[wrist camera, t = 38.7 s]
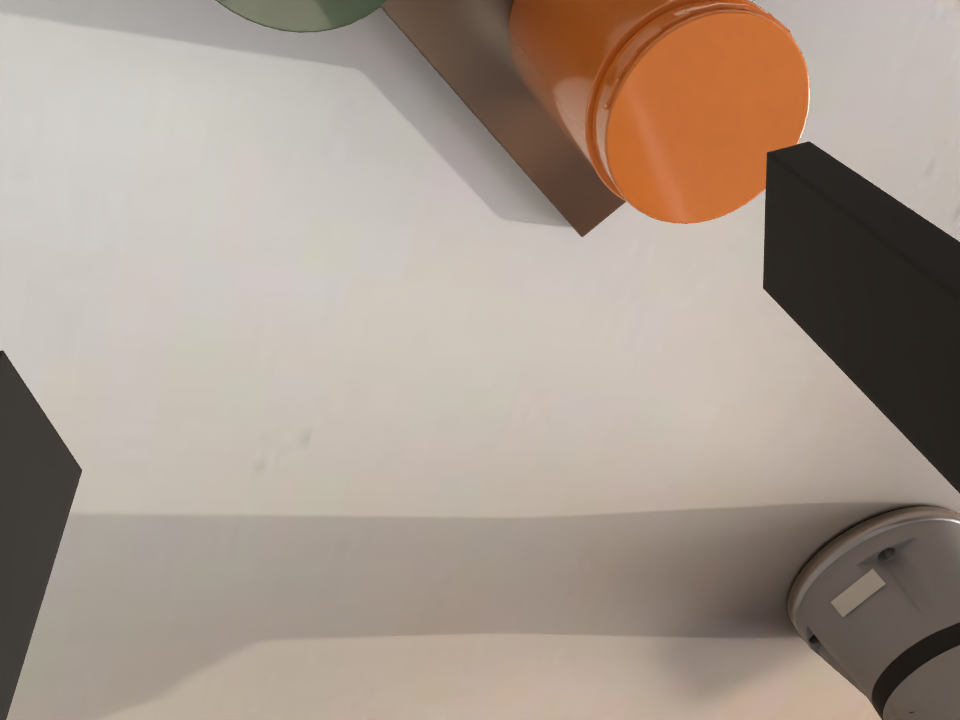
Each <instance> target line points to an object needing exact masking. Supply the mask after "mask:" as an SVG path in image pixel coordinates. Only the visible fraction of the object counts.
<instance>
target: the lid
mask: <svg viewBox="0 0 960 720" xmlns="http://www.w3.org/2000/svg"><path fill="white" fill-rule="evenodd" d="M216 1H217V2H219V3H220V4H221V5H223V6H224V7H226V8H227V9H229V10H230V11H232V12H234V13H236V14H238V15H239V16H241V17H243V18H245V19H247V20H249V21H252V22H255V23H257V24H260V25H263V26H265V27H270V28H274V29H278V30H282V31H291V32H320V31H326V30H332V29H336V28H339V27H343V26H346V25H349V24H351V23H354V22H356V21H358V20H360V19H362V18H364V17H366V16H367V15H369V14H370V13H372V12H374V11H375V10H377V9H378V8H380V7H381V6H382V5H383V4H384V3H385V2H386V1H388V0H216Z"/></svg>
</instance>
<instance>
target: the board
mask: <svg viewBox="0 0 960 720" xmlns="http://www.w3.org/2000/svg"><path fill="white" fill-rule="evenodd" d="M513 2H514V0H388V1H386V2H385V3H384V4H383V5H382V6H381V8H382V9H383V10H384V11H385V12H386V14H387V15H388V16H389V17H390V18H391V19H392V21H393V22H394V23H395V24H396V25H397V26H398V27H399V29H400V30H401V31H402V32H403V33H404V34H405V35H406V37H407V38H408V39H409V40H410V41H411V42H412V43H413V45H414V46H415V47H416V48H417V49H418V50H419V51H420V53H421V54H422V55H423V56H424V57H425V58H426V59H427V61H428V62H429V63H430V64H431V65H432V66H433V67H434V69H435V70H436V71H437V72H438V73H439V74H440V76H441V77H442V78H443V79H444V80H445V81H446V82H447V84H448V85H449V86H450V87H451V88H452V89H453V90H454V92H455V93H456V94H457V95H458V96H459V97H460V98H461V100H462V101H463V102H464V103H465V104H466V105H467V106H468V108H469V109H470V110H471V111H472V112H473V113H474V114H475V116H476V117H477V118H478V119H479V120H480V121H481V122H482V124H483V125H484V126H485V127H486V128H487V129H488V131H489V132H490V133H491V134H492V135H493V136H494V137H495V139H496V140H497V141H498V142H499V143H500V144H501V145H502V147H503V148H504V149H505V150H506V151H507V152H508V153H509V155H510V156H511V157H512V158H513V159H514V160H515V161H516V163H517V164H518V165H519V166H520V167H521V168H522V169H523V171H524V172H525V173H526V174H527V175H528V176H529V177H530V179H531V180H532V181H533V182H534V183H535V184H536V186H537V187H538V188H539V189H540V190H541V191H542V192H543V194H544V195H545V196H546V197H547V198H548V199H549V200H550V202H551V203H552V204H553V205H554V206H555V207H556V208H557V210H558V211H559V212H560V213H561V214H562V215H563V216H564V218H565V219H566V220H567V221H568V222H569V223H570V224H571V226H572V227H573V228H574V229H575V230H576V231H577V232H578V234H579V235H580V236H581V237H583V236H585V235H586V234H587V233H588V232H589V231H591V230H592V229H593V228H594V227H595V226H597V225H598V224H599V223H600V222H602V221H603V220H604V219H605V218H606V217H608V216H609V215H610V214H611V213H613V212H614V211H615V210H616V209H617V208H619V207H620V206H621V205H622V204H624V203H625V202H626V201H624V200H622V199H621V198H620V197H618V196H617V195H616V194H614V193H613V192H612V191H611V190H610V189H609V188H608V187H607V186H606V185H605V184H604V183H603V182H602V180H601V179H600V178H599V177H598V175H597V174H596V173H595V172H594V170H593V169H592V168H591V167H590V165H589V164H588V163H587V162H586V160H585V159H584V158H583V157H582V155H581V154H580V153H579V152H578V150H577V149H576V148H575V147H574V145H573V144H572V143H571V142H570V140H569V139H568V138H567V137H566V135H565V134H564V133H563V132H562V130H561V129H560V128H559V127H558V125H557V124H556V123H555V122H554V120H553V119H552V118H551V117H550V115H549V114H548V113H547V112H546V110H545V109H544V108H543V107H542V105H541V104H540V103H539V102H538V100H537V99H536V98H535V97H534V95H533V94H532V93H531V92H530V90H529V89H528V88H527V87H526V85H525V84H524V83H523V81H522V80H521V78H520V77H519V75H518V73H517V71H516V69H515V67H514V64H513V61H512V59H511V54H510V50H509V42H508V24H509V18H510V12H511V9H512V5H513Z"/></svg>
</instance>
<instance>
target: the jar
mask: <svg viewBox="0 0 960 720" xmlns="http://www.w3.org/2000/svg"><path fill="white" fill-rule="evenodd" d="M508 42H509V50H510V54H511V59H512V61H513V64H514V67H515V69H516V71H517V73H518V75H519V77H520V78H521V80H522V81H523V83H524V84H525V85H526V87H527V88H528V89H529V90H530V92H531V93H532V94H533V95H534V97H535V98H536V99H537V100H538V102H539V103H540V104H541V105H542V107H543V108H544V109H545V110H546V112H547V113H548V114H549V115H550V117H551V118H552V119H553V120H554V122H555V123H556V124H557V125H558V127H559V128H560V129H561V130H562V132H563V133H564V134H565V135H566V137H567V138H568V139H569V140H570V142H571V143H572V144H573V145H574V147H575V148H576V149H577V150H578V152H579V153H580V154H581V155H582V157H583V158H584V159H585V160H586V162H587V163H588V164H589V165H590V167H591V168H592V169H593V170H594V172H595V173H596V174H597V175H598V177H599V178H600V179H601V180H602V182H603V183H604V184H605V185H606V186H607V187H608V188H609V189H610V190H611V191H612V192H613V193H614V194H616V195H617V196H618V197H620V198H621V199H622V200H624V201H626V202H628V203H629V204H630V205H632V206H633V207H634V208H636V209H637V210H638V211H640V212H642V213H643V214H645V215H647V216H649V217H652V218H655V219H657V220H660V221H665V222H670V223H684V224H687V223H698V222H703V221H708V220H712V219H715V218H718V217H721V216H724V215H726V214H728V213H730V212H733V211H735V210H736V209H738V208H740V207H742V206H743V205H745V204H747V203H748V202H749V201H751V200H752V199H754V198H755V197H756V196H758V195H759V194H760V193H761V192H762V191H763V190H764V189H766V162H767V152H770V151H774V150H778V149H782V148H786V147H790V146H793V145H797V144H798V143H799V141H800V139H801V136H802V133H803V130H804V128H805V124H806V120H807V116H808V111H809V103H810V82H809V75H808V70H807V67H806V63H805V60H804V58H803V55H802V52H801V51H800V49H799V47H798V46H797V44H796V42H795V40H794V39H793V37H792V35H791V34H790V31H789V30H788V29H787V28H786V27H785V26H783V25H782V24H781V23H780V22H779V21H778V20H776V19H775V18H774V17H773V16H772V15H771V14H769V13H767V12H766V11H764V10H763V9H761V8H760V7H759V6H757V5H756V4H754V3H752V2H750V1H748V0H514V2H513V5H512V9H511V12H510V18H509V24H508Z"/></svg>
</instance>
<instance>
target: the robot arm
mask: <svg viewBox="0 0 960 720" xmlns="http://www.w3.org/2000/svg"><path fill="white" fill-rule="evenodd" d="M763 288H764V289H765V290H766V292H767V293H768V294H769V295H770V296H771V297H772V298H773V299H774V300H775V301H776V302H777V303H778V304H779V305H780V306H781V307H782V308H783V309H784V310H785V311H786V312H787V313H788V314H789V316H790V317H791V318H792V319H793V320H794V321H795V322H796V323H797V324H798V325H799V326H800V327H801V328H802V329H803V330H804V331H805V332H806V333H807V334H808V335H809V336H810V337H811V338H812V340H813V341H814V342H815V343H816V344H817V345H818V346H819V347H820V348H821V349H822V350H823V351H824V352H825V353H826V354H827V355H828V356H829V357H830V358H831V359H832V360H833V361H834V362H835V364H836V365H837V366H838V367H839V368H840V369H841V370H842V371H843V372H844V373H845V374H846V375H847V376H848V377H849V378H850V379H851V380H852V381H853V382H854V383H855V384H856V385H857V386H858V388H859V389H860V390H861V391H862V392H863V393H864V394H865V395H866V396H867V397H868V398H869V399H870V400H871V401H872V402H873V403H874V404H875V405H876V406H877V407H878V408H879V409H880V410H881V412H882V413H883V414H884V415H885V416H886V417H887V418H888V419H889V420H890V421H891V422H892V423H893V424H894V425H895V426H896V427H897V428H898V429H899V430H900V431H901V432H902V433H903V434H904V436H905V437H906V438H907V439H908V440H909V441H910V442H911V443H912V444H913V445H914V446H915V447H916V448H917V449H918V450H919V451H920V452H921V453H922V454H923V455H924V456H925V457H926V458H927V460H928V461H929V462H930V463H931V464H932V465H933V466H934V467H935V468H936V469H937V470H938V471H939V472H940V473H941V474H942V475H943V476H944V477H945V478H946V479H947V480H948V481H949V482H950V484H951V485H952V486H953V487H954V488H955V489H956V490H957V491H958V492H959V493H960V242H959V241H957V240H956V239H954V238H953V237H951V236H950V235H948V234H947V233H945V232H944V231H942V230H941V229H939V228H938V227H936V226H935V225H933V224H932V223H930V222H929V221H927V220H926V219H924V218H923V217H921V216H920V215H918V214H917V213H915V212H914V211H913V210H911V209H910V208H908V207H907V206H905V205H904V204H902V203H901V202H899V201H898V200H896V199H895V198H893V197H892V196H890V195H889V194H887V193H886V192H884V191H883V190H881V189H880V188H878V187H877V186H875V185H874V184H872V183H871V182H869V181H868V180H866V179H865V178H863V177H862V176H860V175H859V174H857V173H856V172H854V171H853V170H851V169H850V168H848V167H847V166H845V165H844V164H842V163H841V162H839V161H838V160H836V159H835V158H833V157H832V156H830V155H829V154H827V153H826V152H824V151H823V150H821V149H820V148H818V147H817V146H815V145H814V144H812V143H811V142H805V143H801V144H797V145H793V146H790V147H786V148H782V149H778V150H774V151H770V152H767V162H766V201H765V239H764V278H763ZM81 472H82V469H81V468H80V466H79V465H78V463H77V462H76V460H75V459H74V457H73V456H72V454H71V453H70V451H69V449H68V448H67V446H66V445H65V443H64V442H63V440H62V439H61V437H60V436H59V434H58V433H57V431H56V430H55V428H54V427H53V425H52V424H51V422H50V421H49V419H48V418H47V416H46V415H45V413H44V412H43V410H42V409H41V407H40V406H39V404H38V403H37V401H36V400H35V398H34V396H33V395H32V393H31V392H30V390H29V389H28V387H27V386H26V384H25V383H24V381H23V380H22V378H21V377H20V375H19V374H18V372H17V371H16V369H15V368H14V366H13V365H12V363H11V362H10V360H9V359H8V357H7V356H6V354H5V353H4V351H0V720H6V718H7V715H8V712H9V708H10V705H11V702H12V699H13V695H14V692H15V689H16V686H17V682H18V679H19V676H20V672H21V669H22V666H23V663H24V659H25V656H26V653H27V649H28V646H29V643H30V640H31V636H32V633H33V630H34V627H35V623H36V620H37V617H38V613H39V610H40V607H41V604H42V600H43V597H44V594H45V590H46V587H47V584H48V581H49V577H50V574H51V571H52V568H53V564H54V561H55V558H56V554H57V551H58V548H59V545H60V541H61V538H62V535H63V531H64V528H65V525H66V522H67V518H68V515H69V512H70V509H71V505H72V502H73V499H74V495H75V492H76V489H77V486H78V482H79V479H80V476H81ZM788 614H789V617H790V619H791V621H792V623H793V625H794V626H795V628H796V629H797V631H798V633H799V634H800V636H801V637H802V639H803V640H804V641H805V642H806V643H807V644H808V646H809V647H810V648H811V649H812V650H814V651H815V652H816V653H817V654H818V655H819V656H821V657H822V658H823V659H824V660H825V661H826V662H827V663H828V664H830V665H831V666H832V667H833V668H834V669H835V670H836V671H838V672H839V673H840V674H841V675H842V676H843V677H845V678H846V679H847V680H848V681H849V682H850V683H851V684H853V685H854V686H855V687H856V688H857V689H858V690H860V691H861V692H862V693H863V694H864V695H865V696H866V697H867V698H868V699H869V701H870V702H871V703H872V705H873V706H874V708H875V710H876V711H877V713H878V714H879V716H880V717H881V719H882V720H960V515H958V514H957V513H955V512H953V511H951V510H948V509H945V508H940V507H931V506H920V507H910V508H904V509H899V510H895V511H891V512H888V513H885V514H882V515H879V516H876V517H874V518H871V519H869V520H867V521H864V522H862V523H860V524H858V525H856V526H854V527H853V528H851V529H849V530H847V531H846V532H844V533H843V534H841V535H839V536H838V537H836V538H835V539H834V540H832V541H831V542H830V543H828V544H827V545H826V546H825V547H823V548H822V549H821V550H820V551H819V552H818V553H817V554H816V555H815V556H814V557H813V558H812V559H811V560H810V561H809V562H808V563H807V564H806V565H805V567H804V568H803V569H802V571H801V572H800V573H799V575H798V576H797V578H796V580H795V582H794V583H793V586H792V588H791V590H790V594H789V598H788Z"/></svg>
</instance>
